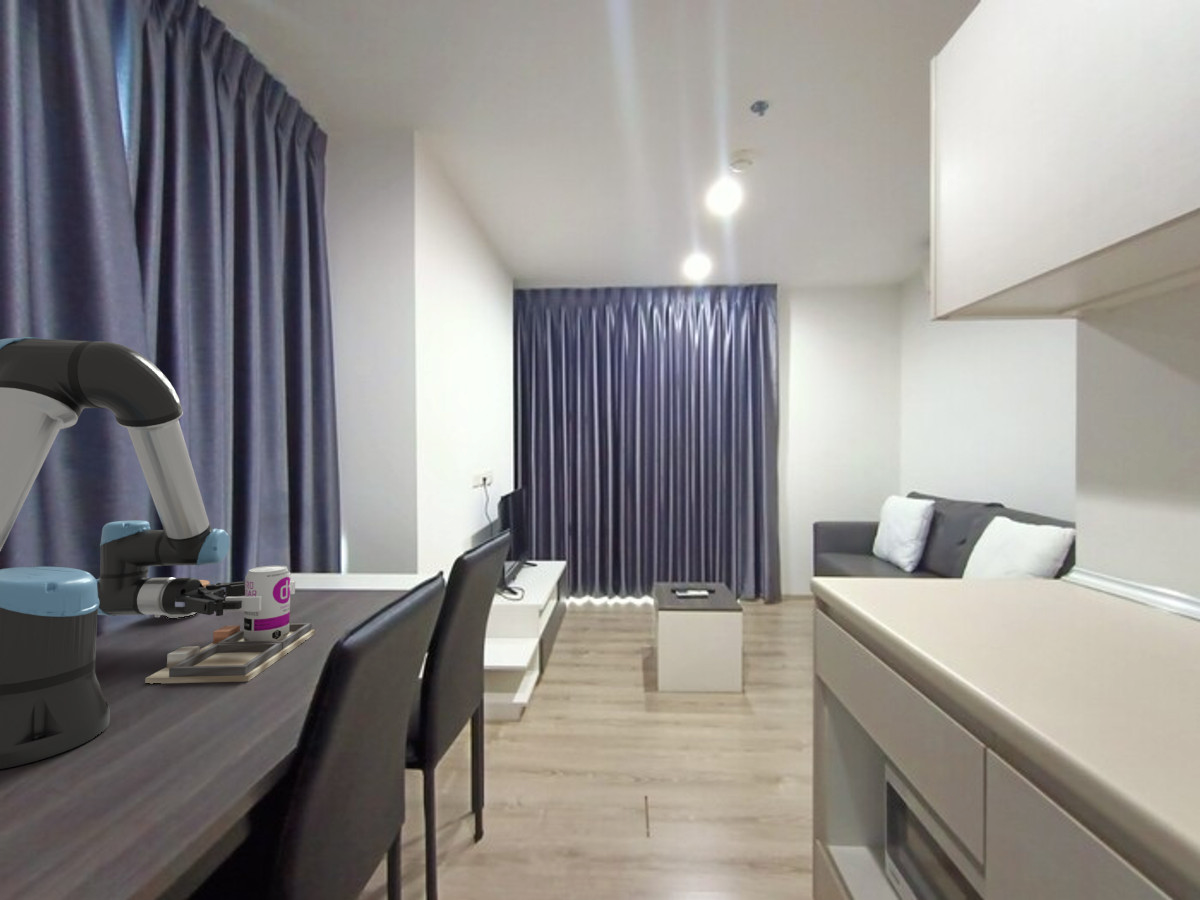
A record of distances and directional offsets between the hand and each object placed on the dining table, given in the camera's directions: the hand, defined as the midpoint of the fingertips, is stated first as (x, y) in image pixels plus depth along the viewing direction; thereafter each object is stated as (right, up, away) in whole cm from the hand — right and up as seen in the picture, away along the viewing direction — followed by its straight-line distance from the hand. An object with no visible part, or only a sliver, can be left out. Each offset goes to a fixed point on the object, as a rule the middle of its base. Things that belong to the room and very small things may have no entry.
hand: (278, 595), depth 112 cm
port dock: (-3, -10, -7) cm, 13 cm away
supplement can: (-2, -9, -1) cm, 10 cm away
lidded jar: (-37, -11, +20) cm, 43 cm away
